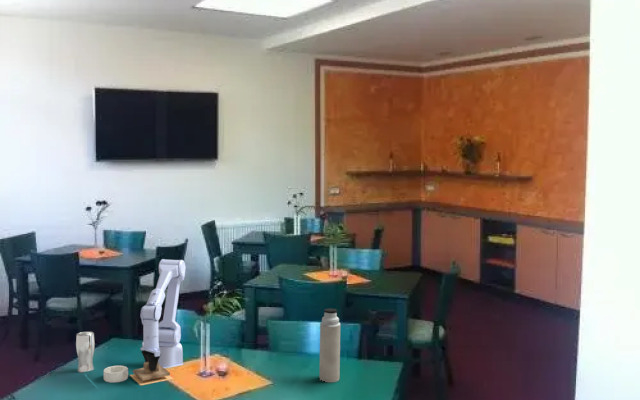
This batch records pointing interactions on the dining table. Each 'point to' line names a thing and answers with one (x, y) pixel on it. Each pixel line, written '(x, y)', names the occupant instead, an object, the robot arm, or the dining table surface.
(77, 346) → the beer glass
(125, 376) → the bowl
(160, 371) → the lid
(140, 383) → the mat
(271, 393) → the dining table surface
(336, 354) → the thermos bottle
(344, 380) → the dining table surface
